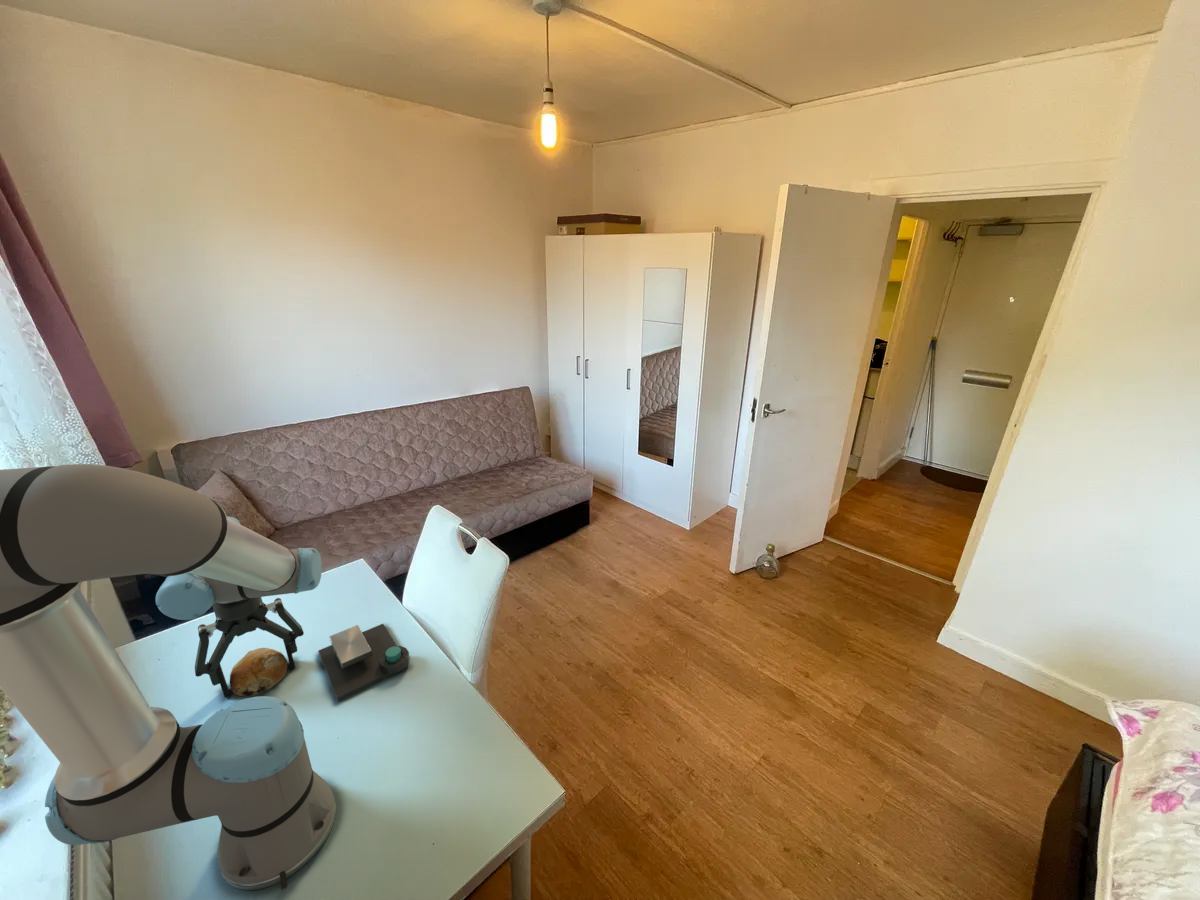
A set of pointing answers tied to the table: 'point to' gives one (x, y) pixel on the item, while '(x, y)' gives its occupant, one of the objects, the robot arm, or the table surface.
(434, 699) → the table surface
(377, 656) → the scale
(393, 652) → the tare button
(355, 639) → the silver metal plate
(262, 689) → the bread roll
